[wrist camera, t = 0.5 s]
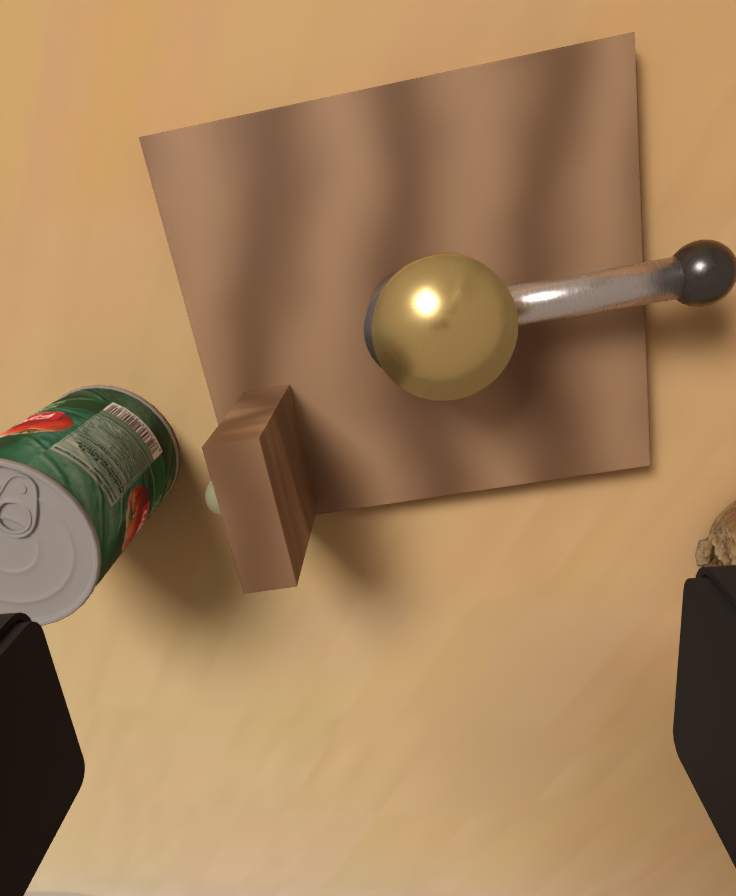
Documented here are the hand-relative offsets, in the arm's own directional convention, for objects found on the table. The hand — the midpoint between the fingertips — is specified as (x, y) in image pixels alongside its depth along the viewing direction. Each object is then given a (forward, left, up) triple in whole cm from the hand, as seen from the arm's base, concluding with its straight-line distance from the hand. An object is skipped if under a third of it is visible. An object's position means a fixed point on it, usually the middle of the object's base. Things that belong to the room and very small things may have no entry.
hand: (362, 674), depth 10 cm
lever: (-7, -1, -25) cm, 26 cm away
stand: (-1, -1, -27) cm, 27 cm away
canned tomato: (+17, +4, -27) cm, 32 cm away
